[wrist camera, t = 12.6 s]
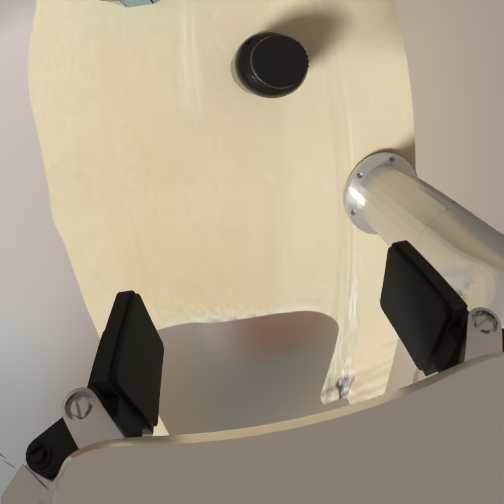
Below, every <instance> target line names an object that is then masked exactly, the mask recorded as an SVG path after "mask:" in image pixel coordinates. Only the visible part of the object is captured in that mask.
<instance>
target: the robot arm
mask: <svg viewBox="0 0 504 504" xmlns="http://www.w3.org/2000/svg"><path fill="white" fill-rule="evenodd" d="M358 173H359V174H358ZM357 174H358V175H357ZM344 205H345V210H346V213H347V215H348V217H349V219H350V220H351V221H352V223H353V224H354V225H355V226H356V227H357V228H359V229H360V230H362V231H364V232H366V233H369V234H378V235H379V236H380V237H381V238H382V239H383V240H384V241H385V242H386V243H387V244H388V245H389V246H390V247H389V249H388V253H387V261H386V268H385V275H384V281H383V287H382V293H381V299H380V304H381V308H382V310H383V311H384V313H385V315H386V316H387V318H388V319H389V321H390V323H391V324H392V326H393V327H394V329H395V331H396V332H397V334H398V336H399V337H400V339H401V340H402V342H403V344H404V345H405V347H406V349H407V351H408V352H409V354H410V356H411V358H412V359H413V361H414V363H415V365H416V368H415V372H414V375H413V384H410V385H408V386H405V387H403V388H400V389H397V390H395V391H392V392H389V393H386V394H383V395H380V396H377V397H374V398H371V399H368V400H365V401H362V402H359V403H355V404H352V405H349V406H345V407H342V408H338V409H335V410H331V411H327V412H323V413H319V414H315V415H311V416H307V417H302V418H298V419H293V420H288V421H284V422H278V423H273V424H267V425H262V426H255V427H249V428H242V429H236V430H228V431H219V432H209V433H199V434H186V435H171V436H149V437H148V436H147V437H142V434H153V429H154V426H157V424H158V412H159V398H160V385H161V375H162V364H163V355H164V354H163V353H164V347H163V343H162V341H161V339H160V337H159V335H158V333H157V330H156V328H155V326H154V324H153V322H152V320H151V318H150V316H149V314H148V312H147V310H146V307H145V305H144V303H143V301H142V299H141V296H140V295H139V294H138V293H137V294H135V292H134V291H132V290H131V291H125V292H119V293H118V294H117V296H116V299H115V301H114V304H113V307H112V310H111V313H110V316H109V319H108V322H107V325H106V328H105V331H104V332H103V334H102V337H101V340H100V343H99V347H98V350H97V354H96V357H95V360H94V364H93V367H92V371H91V375H90V379H89V382H88V386H87V388H82V387H81V388H77V389H75V390H73V391H71V392H70V393H69V394H68V395H67V396H66V397H65V399H64V400H63V403H62V406H61V413H62V416H63V417H62V418H61V419H60V420H58V421H57V422H56V423H54V424H53V425H52V426H51V427H50V428H48V429H47V430H46V431H45V432H43V433H42V434H41V435H40V436H38V437H37V438H36V439H35V440H33V441H32V442H31V443H30V444H29V446H28V448H27V452H26V461H27V465H26V466H25V465H24V464H22V466H21V467H20V469H19V470H18V472H17V473H16V475H15V476H14V478H13V479H12V481H11V482H10V484H9V485H8V487H7V488H6V490H5V491H4V493H3V495H2V497H1V504H504V235H503V234H502V233H500V232H498V231H497V230H496V229H494V228H493V227H491V226H490V225H488V224H487V223H485V222H484V221H482V220H481V219H479V218H478V217H476V216H475V215H474V214H472V213H471V212H470V211H468V210H467V209H465V208H464V207H462V206H461V205H460V204H458V203H457V202H455V201H454V200H452V199H451V198H449V197H448V196H446V195H445V194H443V193H441V192H440V191H438V190H437V189H435V188H433V187H432V186H430V185H429V184H427V183H426V182H424V181H422V180H421V179H419V178H417V174H416V172H415V170H414V168H413V166H412V165H411V164H410V163H409V162H408V161H407V160H406V159H405V158H403V157H401V156H399V155H397V154H394V153H390V152H382V153H376V154H374V155H371V156H369V157H367V158H366V159H364V160H363V161H362V162H361V163H359V164H358V165H357V166H356V168H355V169H354V170H353V172H352V173H351V175H350V177H349V179H348V181H347V184H346V187H345V193H344ZM460 296H463V299H462V298H461V297H460Z"/></svg>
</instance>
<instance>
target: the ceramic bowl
mask: <svg viewBox="0 0 504 504" xmlns="http://www.w3.org/2000/svg"><path fill="white" fill-rule="evenodd" d="M157 1H159V0H123V1H109V2H112V3H115V4H118V5H122V6H125V7H134V6H140V5H147V4H153V2H154V3H156V2H157Z"/></svg>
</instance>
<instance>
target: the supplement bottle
mask: <svg viewBox="0 0 504 504" xmlns="http://www.w3.org/2000/svg"><path fill="white" fill-rule="evenodd" d="M308 63H309V61H308V56H307V54H306V51H305V50H304V48H303V46H301V45H300V43H299V42H297V41H296V40H295V39H293V38H292V37H290V36H288V35H286V34H284V33H280V32H275V31H265V32H260V33H257V34H255V35H253V36H251V37H249V38H248V39H246V40H245V41H244V42H243V43H242V44H241V46H240V47H239V49H238V50H237V52H236V53H235V55H234V57H233V59H232V63H231V73H232V76H233V79H234V81H235V82H236V84H237V85H238V86H239V87H240V88H241V89H243V90H244V91H246V92H248V93H251V94H254V95H257V96H261V97H266V98H279V97H283V96H286V95H289V94H291V93H292V92H294V91H295V90H297V89H298V88H299V87H300V86H301V84H302V83H303V82H304V80H305V78H306V75H307V71H308V67H309V65H308Z"/></svg>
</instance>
